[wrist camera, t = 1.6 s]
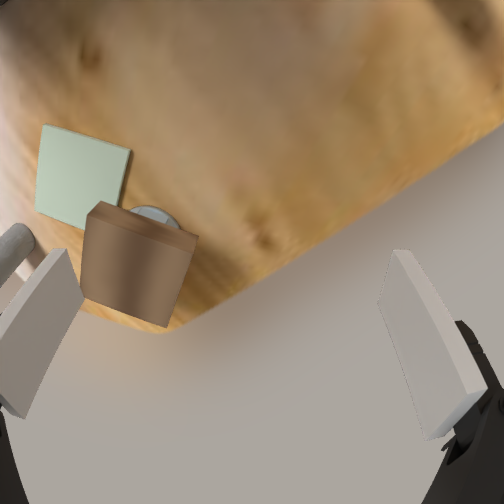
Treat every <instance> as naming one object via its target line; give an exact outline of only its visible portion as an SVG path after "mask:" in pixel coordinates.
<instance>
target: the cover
mask: <svg viewBox="0 0 504 504" xmlns="http://www.w3.org/2000/svg"><path fill="white" fill-rule="evenodd" d="M198 237H199V236H197V235H194V234H192V233H189V232H186V231H183V230H181V229H178V228H175V227H172V226H170V225H167V224H164V223H161V222H159V221H156V220H153V219H150V218H148V217H145V216H142V215H139V214H137V213H134V212H131V211H128V210H126V209H123V208H120V207H117V206H115V205H112V204H109V203H106V202H104V201H101V200H100V202H99V203H98V204H97V205H96V206H95V207H94V208H93V209H92V210H91V211H90V212H89V213H88V214H87V217H86V224H85V232H84V241H83V251H82V263H81V276H80V288H81V291H82V293H83V296H84V298H87V299H89V300H92V301H94V302H97V303H99V304H102V305H104V306H107V307H109V308H112V309H115V310H117V311H120V312H123V313H125V314H128V315H131V316H133V317H136V318H139V319H142V320H144V321H147V322H150V323H153V324H156V325H159V326H162V327H164V328H167V326H168V323H169V320H170V317H171V314H172V312H173V309H174V306H175V303H176V300H177V297H178V294H179V292H180V289H181V286H182V283H183V281H184V278H185V275H186V272H187V270H188V267H189V264H190V262H191V259H192V256H193V253H194V250H195V247H196V243H197V240H198Z"/></svg>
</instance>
